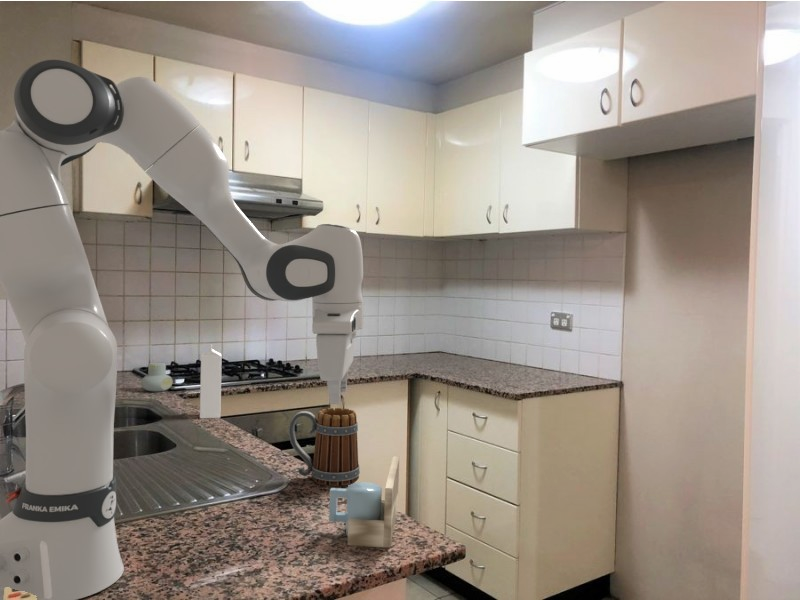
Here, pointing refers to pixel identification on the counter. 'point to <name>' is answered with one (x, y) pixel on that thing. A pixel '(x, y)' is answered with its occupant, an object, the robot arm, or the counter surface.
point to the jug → (356, 502)
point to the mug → (330, 447)
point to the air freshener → (156, 378)
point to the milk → (210, 384)
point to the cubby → (376, 530)
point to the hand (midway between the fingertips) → (338, 397)
